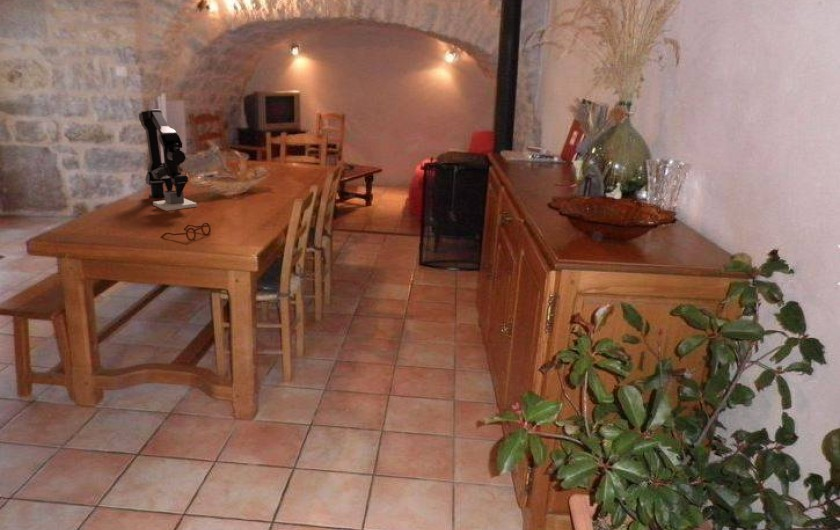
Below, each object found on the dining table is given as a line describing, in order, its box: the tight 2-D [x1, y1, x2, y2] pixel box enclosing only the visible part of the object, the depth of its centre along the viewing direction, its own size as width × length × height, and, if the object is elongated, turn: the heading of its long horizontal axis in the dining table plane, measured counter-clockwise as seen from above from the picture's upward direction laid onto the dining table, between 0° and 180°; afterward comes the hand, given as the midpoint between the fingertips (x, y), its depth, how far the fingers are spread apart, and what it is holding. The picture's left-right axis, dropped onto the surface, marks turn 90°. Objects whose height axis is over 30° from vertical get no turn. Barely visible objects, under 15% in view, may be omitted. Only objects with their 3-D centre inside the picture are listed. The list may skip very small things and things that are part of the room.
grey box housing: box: [164, 189, 185, 205], centre depth 284 cm, size 6×6×5 cm
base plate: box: [152, 197, 198, 212], centre depth 284 cm, size 14×14×6 cm
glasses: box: [160, 222, 211, 242], centre depth 240 cm, size 13×13×5 cm
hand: (174, 195), depth 284 cm, fingers open, 9 cm apart
